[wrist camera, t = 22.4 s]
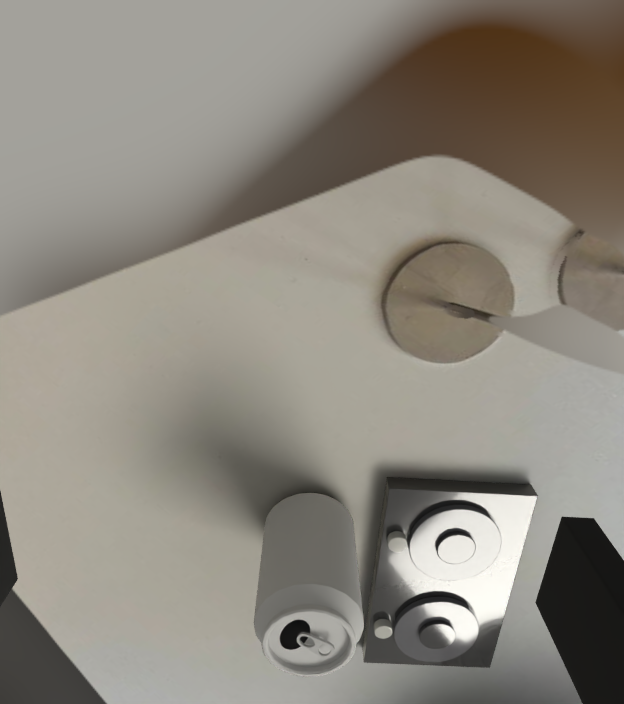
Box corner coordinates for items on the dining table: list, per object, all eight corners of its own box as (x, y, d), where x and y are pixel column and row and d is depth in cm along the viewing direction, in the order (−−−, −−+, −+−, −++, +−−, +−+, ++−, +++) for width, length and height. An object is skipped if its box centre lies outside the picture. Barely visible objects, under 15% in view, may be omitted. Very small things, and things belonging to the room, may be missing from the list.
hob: (531, 484, 45) (543, 504, 42) (485, 653, 53) (493, 677, 50) (386, 476, 44) (390, 496, 42) (362, 648, 52) (364, 672, 50)
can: (283, 474, 44) (274, 591, 33) (367, 501, 45) (385, 624, 34) (253, 541, 47) (235, 670, 36) (333, 565, 48) (339, 697, 37)
